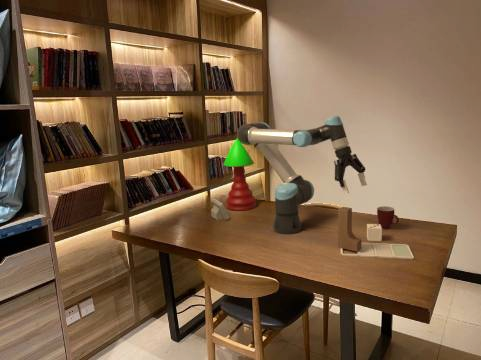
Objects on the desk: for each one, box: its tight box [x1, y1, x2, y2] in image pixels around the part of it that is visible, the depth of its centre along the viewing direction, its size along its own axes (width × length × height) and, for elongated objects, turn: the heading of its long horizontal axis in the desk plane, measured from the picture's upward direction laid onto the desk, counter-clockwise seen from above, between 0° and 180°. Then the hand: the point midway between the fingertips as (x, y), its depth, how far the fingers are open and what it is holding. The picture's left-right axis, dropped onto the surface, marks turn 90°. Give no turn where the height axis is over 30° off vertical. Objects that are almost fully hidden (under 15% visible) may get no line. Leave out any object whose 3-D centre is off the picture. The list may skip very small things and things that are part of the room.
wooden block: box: [337, 206, 363, 253], centre depth 159 cm, size 9×4×18 cm, turn 49°
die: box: [366, 223, 383, 242], centre depth 171 cm, size 6×6×6 cm
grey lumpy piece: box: [210, 198, 230, 221], centre depth 215 cm, size 16×9×11 cm, turn 12°
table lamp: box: [222, 137, 257, 212], centre depth 232 cm, size 20×20×45 cm
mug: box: [376, 205, 400, 230], centre depth 183 cm, size 10×8×10 cm
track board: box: [340, 242, 415, 260], centre depth 158 cm, size 29×14×1 cm, turn 76°
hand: (355, 189), depth 176 cm, fingers open, 13 cm apart
